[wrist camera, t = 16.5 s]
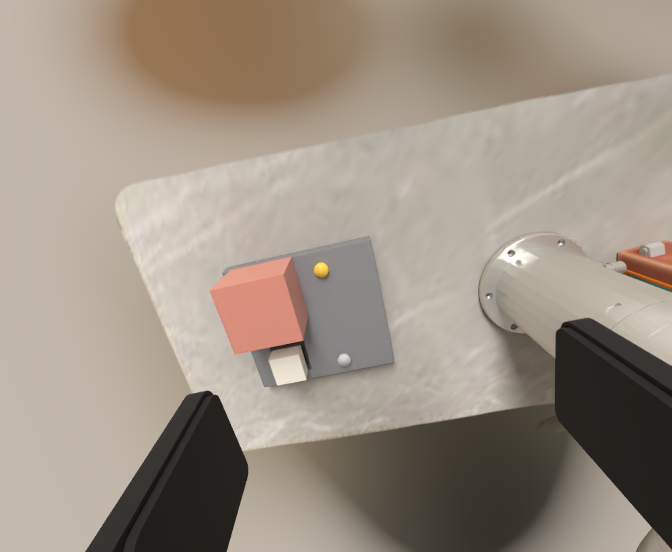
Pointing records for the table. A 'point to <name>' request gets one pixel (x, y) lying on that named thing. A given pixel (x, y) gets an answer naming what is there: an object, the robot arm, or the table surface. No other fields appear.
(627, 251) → the control panel
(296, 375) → the block
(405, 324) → the table surface
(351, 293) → the board
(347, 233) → the table surface
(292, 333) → the cap
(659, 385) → the robot arm
